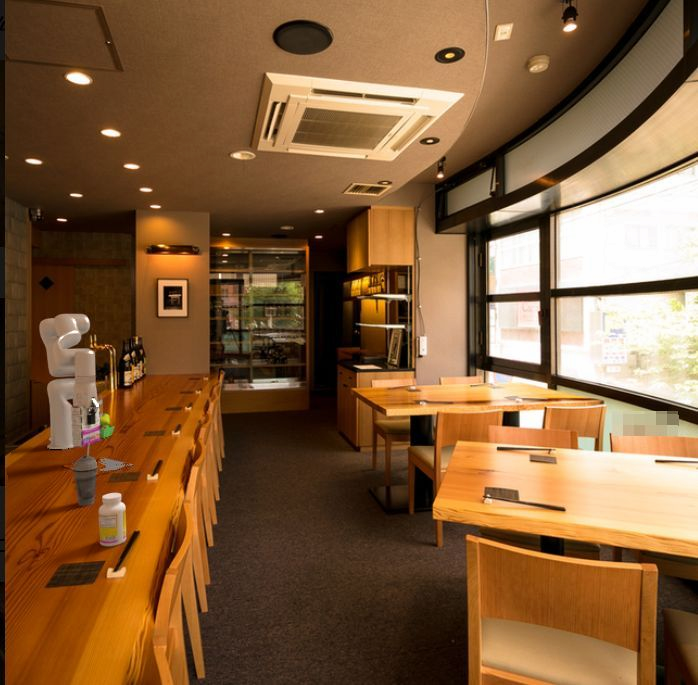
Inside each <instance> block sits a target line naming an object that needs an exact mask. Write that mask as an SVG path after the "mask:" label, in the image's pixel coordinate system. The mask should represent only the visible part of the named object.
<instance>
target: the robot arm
mask: <svg viewBox="0 0 698 685" xmlns="http://www.w3.org/2000/svg"><path fill="white" fill-rule="evenodd" d="M90 323H91V322H90V319H89V317H88V316H87V314H84V313H61V314H58V315H56V316H54V318H53V317H51V318H45V319H43V320H42V321H40V323H39V334H40V338H41V339H42V342H43V344H44V346H45V349H46V356H47V366H48V371H49V375H51V377H56V378H57V379H54V380H52V381H50V382H48V384H47V388H46V389H47V395H48V402H49V413H50V414H49V415H50V416H49V417H50V418H49V419H50V437H49V438H48V441H50V443H49V444H48V445H46V446H47V449H48V448H49V449H48V450H50V449H62V450H69V449H72V448H74V447H73V437H72V412H71V407H74V406H84V407H85V409H87V411H88V415H87V422H88V425H92V424H95V423H96V420H95V414H96V412H97V410H98V408H99V405H98V404H97V395H98V393H97V392H98V391H97V385H96V383H97V382H96V353H95V351H94V350H92V349H90V348H72V347H74V346H76V345H78V344H79V343H80V341H81V340H82V335H84V334H87V333H88V331H90V327H91V324H90ZM58 377H59V379H58ZM60 377H63V378H60ZM64 377H71V378H64ZM72 377H74V378H72ZM68 400H72V404H71V402H69V401H68ZM90 406H92V407H90ZM90 409H92V410H91V411H90ZM68 448H69V449H68Z"/></svg>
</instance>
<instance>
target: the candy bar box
mask: <svg viewBox="0 0 698 685" xmlns="http://www.w3.org/2000/svg"><path fill="white" fill-rule="evenodd" d="M97 404H98V405H99V408H98V410H97V412H96V414H95V420H96V423H95V424H92V425H88V422H87V415H88V411H87V409H85V407H84V406H72V407H71V412H72V437H73V448H84V447H88V443H90V445H93V444H96V443H98V442H101V441H102V438H101V431H100V403H97ZM90 407H92V406H90ZM91 410H92V409H90V411H91Z"/></svg>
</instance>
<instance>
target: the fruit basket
mask: <svg viewBox="0 0 698 685" xmlns="http://www.w3.org/2000/svg"><path fill="white" fill-rule="evenodd" d="M110 417H111V416H110V415H109V414H108V413H103V415H102V417H101V418H100V431H101V439H102V438H104V439H106V438H105V437H108V436H111V435H113V432H114V429H115V425H114V426H113V425H110V424H111V419H110ZM111 437H112V436H111ZM108 438H109V437H108Z"/></svg>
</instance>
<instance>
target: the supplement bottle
mask: <svg viewBox="0 0 698 685" xmlns="http://www.w3.org/2000/svg"><path fill="white" fill-rule="evenodd" d="M101 499H102V503H103V504H101V506H100V507H99V509H98V530H99V534H98V535H99V544H100V545H101V546H103V547H115V546H119V545H121V544H123V543H124V542H125V541H126V540H127V519H126V518H127V516H126V515H127V514H126V511H127V510H126V509H127V508H126V507H127V506H126V505H125V503H124V502H122V494H121V493H119V492H111V493H107V494H104V495H102V498H101Z"/></svg>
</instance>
